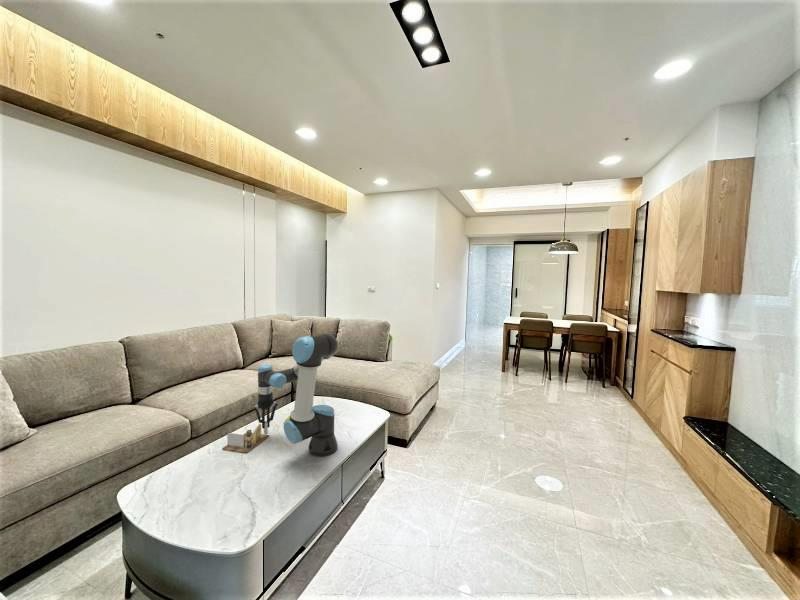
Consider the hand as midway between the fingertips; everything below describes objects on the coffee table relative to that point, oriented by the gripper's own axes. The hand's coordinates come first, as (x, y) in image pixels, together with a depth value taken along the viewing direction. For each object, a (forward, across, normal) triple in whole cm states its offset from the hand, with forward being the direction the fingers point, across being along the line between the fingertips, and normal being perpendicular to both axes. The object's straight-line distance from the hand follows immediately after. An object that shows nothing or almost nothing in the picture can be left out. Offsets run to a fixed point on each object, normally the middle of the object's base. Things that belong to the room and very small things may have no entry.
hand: (265, 433), depth 186 cm
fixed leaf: (+2, +14, +4) cm, 14 cm away
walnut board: (+3, +10, 0) cm, 10 cm away
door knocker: (+4, -21, -12) cm, 24 cm away
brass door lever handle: (+2, +7, +3) cm, 7 cm away
